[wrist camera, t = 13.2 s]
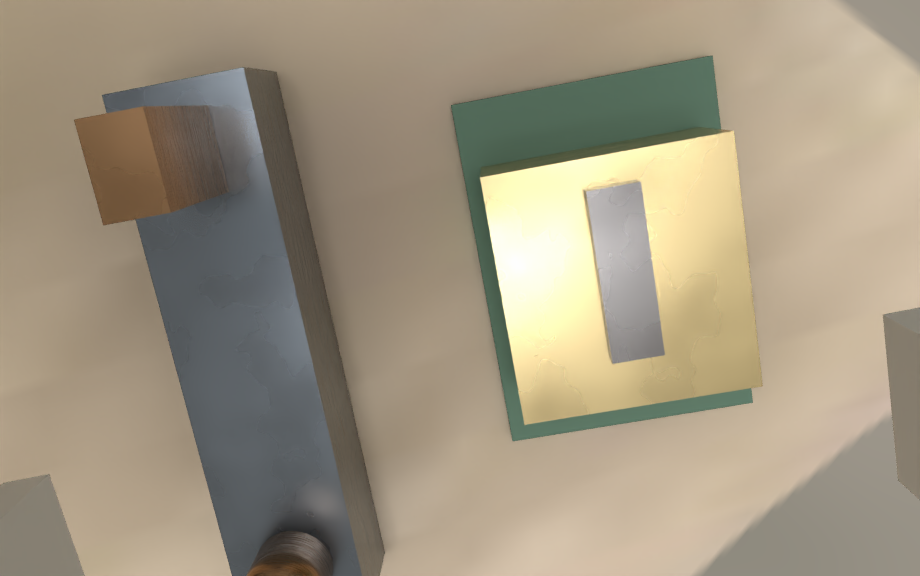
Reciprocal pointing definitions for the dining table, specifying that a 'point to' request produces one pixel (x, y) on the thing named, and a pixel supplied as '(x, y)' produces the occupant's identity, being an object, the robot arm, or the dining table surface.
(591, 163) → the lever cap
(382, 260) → the dining table surface
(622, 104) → the felt pad
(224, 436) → the knobbed metal bar
